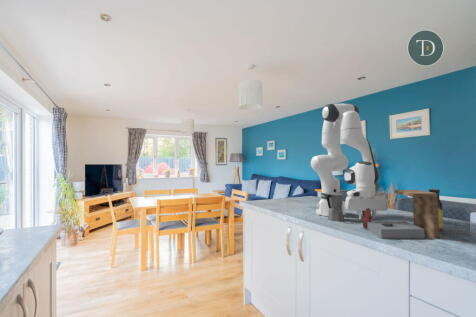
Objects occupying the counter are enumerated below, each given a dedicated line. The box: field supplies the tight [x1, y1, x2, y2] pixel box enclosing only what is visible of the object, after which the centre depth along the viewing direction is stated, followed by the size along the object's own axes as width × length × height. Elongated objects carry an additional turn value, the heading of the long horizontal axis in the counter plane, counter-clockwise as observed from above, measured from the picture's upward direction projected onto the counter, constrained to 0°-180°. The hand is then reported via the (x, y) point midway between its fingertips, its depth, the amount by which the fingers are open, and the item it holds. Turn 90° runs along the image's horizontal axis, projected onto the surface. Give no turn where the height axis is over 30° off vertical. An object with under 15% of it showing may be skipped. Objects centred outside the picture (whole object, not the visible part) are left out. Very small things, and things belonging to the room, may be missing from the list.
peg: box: [361, 208, 372, 229], centre depth 126 cm, size 4×4×10 cm
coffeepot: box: [327, 189, 345, 222], centre depth 144 cm, size 15×9×18 cm, turn 129°
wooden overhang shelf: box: [394, 189, 440, 239], centre depth 113 cm, size 14×10×20 cm
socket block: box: [366, 220, 426, 239], centre depth 113 cm, size 14×18×4 cm
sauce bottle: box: [428, 188, 444, 232], centre depth 118 cm, size 7×6×20 cm
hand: (366, 219), depth 126 cm, fingers closed on peg, 4 cm apart
